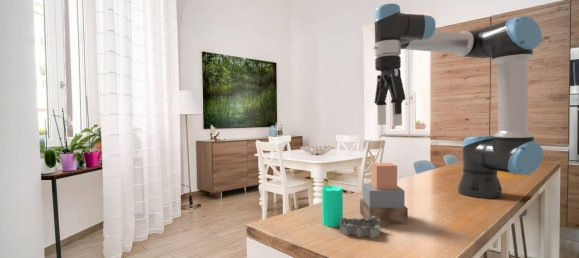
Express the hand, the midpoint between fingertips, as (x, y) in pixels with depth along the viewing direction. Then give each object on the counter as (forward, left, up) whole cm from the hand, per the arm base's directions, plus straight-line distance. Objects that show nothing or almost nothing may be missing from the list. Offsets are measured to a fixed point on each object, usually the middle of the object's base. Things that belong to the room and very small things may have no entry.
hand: (388, 125), depth 96 cm
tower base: (+3, +3, -29) cm, 29 cm away
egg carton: (+13, +14, -29) cm, 34 cm away
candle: (+19, +7, -29) cm, 35 cm away
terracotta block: (+3, +3, -19) cm, 19 cm away
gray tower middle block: (+3, +3, -24) cm, 24 cm away
